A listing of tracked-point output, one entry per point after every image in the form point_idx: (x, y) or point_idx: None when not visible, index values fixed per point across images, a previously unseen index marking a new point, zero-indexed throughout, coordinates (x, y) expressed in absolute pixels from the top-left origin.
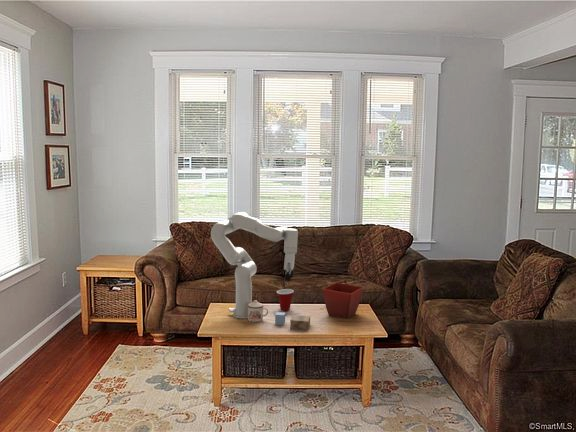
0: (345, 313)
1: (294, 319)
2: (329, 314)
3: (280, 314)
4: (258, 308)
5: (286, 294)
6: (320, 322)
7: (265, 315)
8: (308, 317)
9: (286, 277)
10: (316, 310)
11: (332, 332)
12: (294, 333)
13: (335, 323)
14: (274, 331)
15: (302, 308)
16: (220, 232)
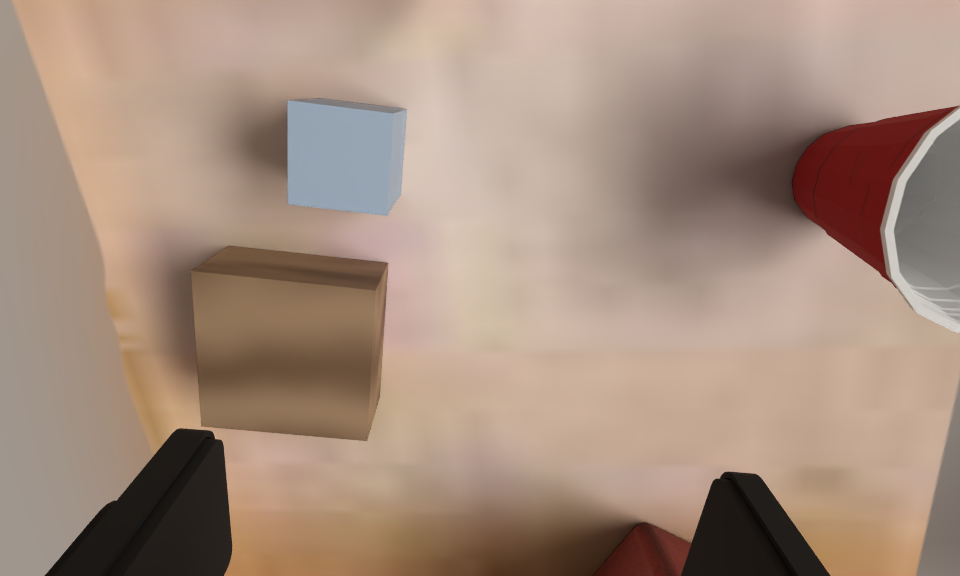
0: None
1: (225, 309)
2: (633, 532)
3: (306, 162)
4: None
5: (882, 232)
6: (449, 467)
7: None
8: (323, 427)
9: (68, 554)
10: (774, 443)
11: (231, 534)
12: (120, 284)
13: (440, 556)
14: (114, 104)
15: (847, 335)
16: None
